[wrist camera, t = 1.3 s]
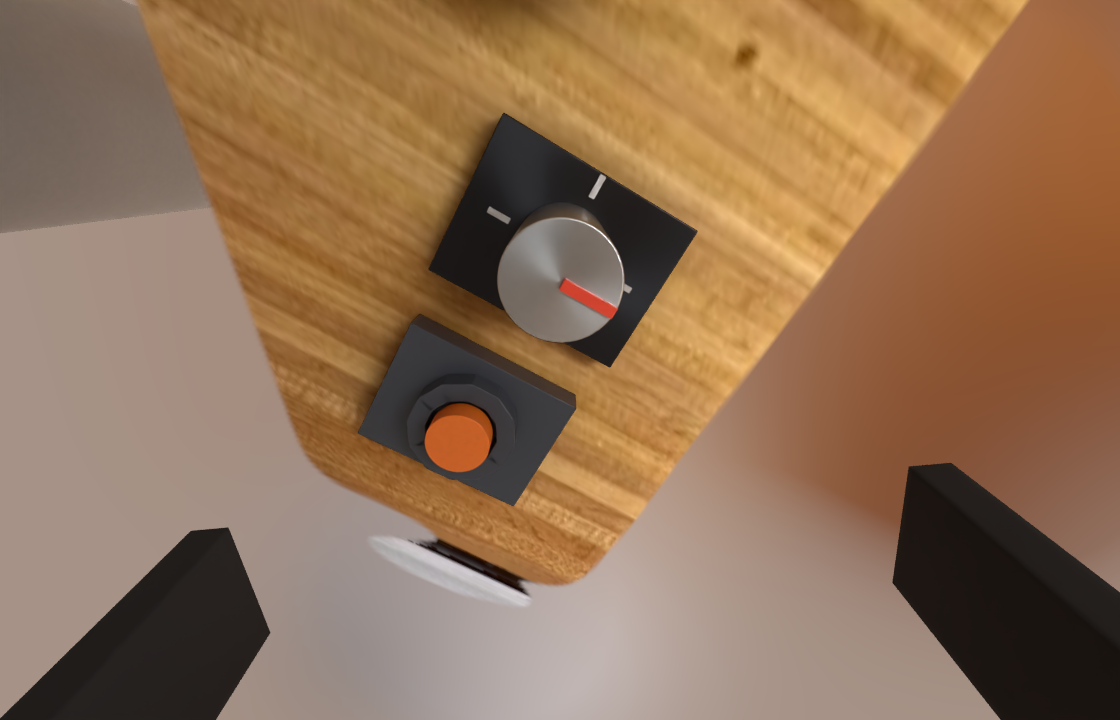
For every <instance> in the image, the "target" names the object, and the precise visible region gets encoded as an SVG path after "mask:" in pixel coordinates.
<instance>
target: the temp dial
mask: <svg viewBox="0 0 1120 720" xmlns="http://www.w3.org/2000/svg"><path fill="white" fill-rule="evenodd" d="M497 285H498V292H499V296H500V299H501V302H502V304H503V307H504V309H505V310H506V312H507V314H508V315H509V317H510V318H511V319H512V320H513V321H514V322H515V324H516V325H517V326H519V327H520V328H521V329H522V330H524V331H525V332H527V333H528V334H530V335H532V336H534V337H536V338H539V339H542V340H545V341H550V342H572V341H577V340H580V339H583V338H586V337H588V336H590V335H592V334H593V333H595V332H597V331H598V330H599V329H601V328H602V327H603V326H604V325H605V324H606V323H607V322H608V321H609V320H610V319H612V318H613V316H614V314H615V313H616V311H617V310H618V306H619V304H620V301H621V298H622V295H623V290H624V269H623V264H622V261H621V258H620V255H619V253H618V251H617V249H616V247H615V246H614V244H613V243H612V241H611V240H610V238H609V237H608V235H607V233H606V232H605V230H604V229H603V227H602V226H601V224H600V223H599V221H598V220H597V219H596V218H595V216H593V215H592V214H591V213H590V212H589V211H587V210H586V209H584V208H582V207H580V206H578V205H575V204H571V203H562V202H560V203H552V204H548V205H545V206H542V207H540V208H538V209H537V210H535V211H534V212H532V213H531V214H530V215H529V216H528V217H527V218H526V219H525V220H524V222H523V223H522V225H521V226H520V227H519V229H518V230H517V232H516V233H515V235H514V236H513V238H512V239H511V241H510V242H509V244H508V245H507V247H506V249H505V250H504V252H503V255H502V257H501V260H500V263H499V267H498V274H497Z"/></svg>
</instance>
